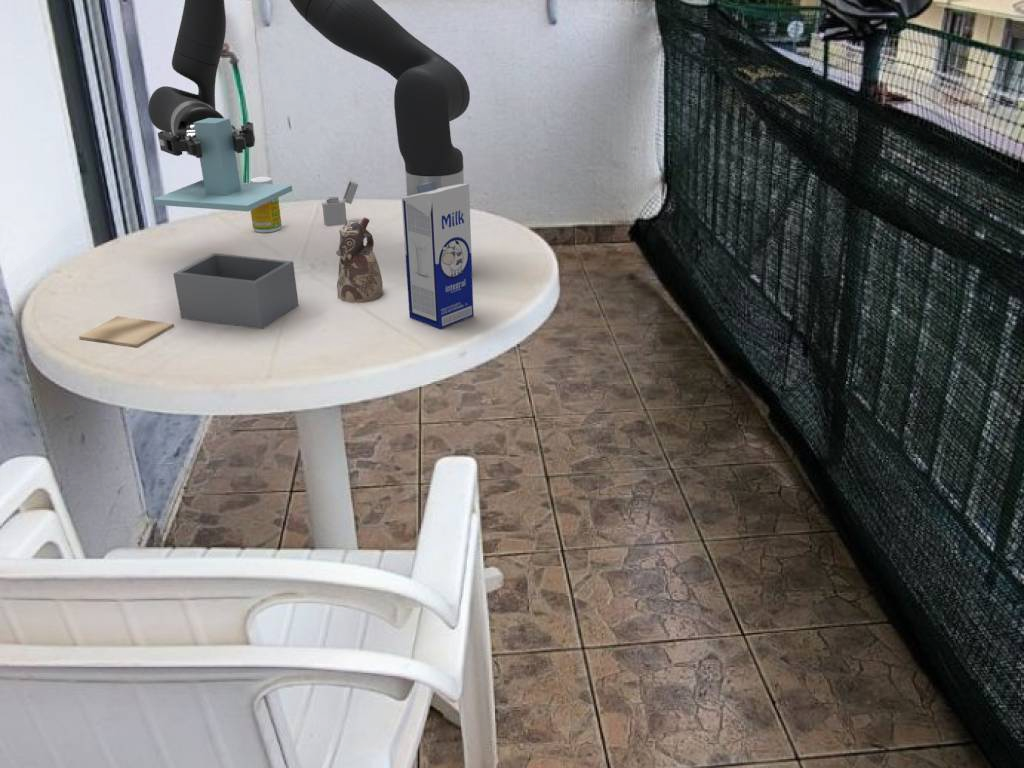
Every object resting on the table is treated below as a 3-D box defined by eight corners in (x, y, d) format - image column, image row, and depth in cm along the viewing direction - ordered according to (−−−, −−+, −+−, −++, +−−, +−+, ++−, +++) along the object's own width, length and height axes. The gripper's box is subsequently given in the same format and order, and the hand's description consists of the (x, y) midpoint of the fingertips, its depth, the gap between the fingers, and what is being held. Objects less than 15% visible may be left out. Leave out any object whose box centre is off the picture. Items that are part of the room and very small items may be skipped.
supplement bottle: (278, 233, 179) (271, 182, 175) (250, 233, 179) (242, 182, 175) (284, 225, 184) (278, 175, 179) (257, 225, 184) (250, 175, 180)
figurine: (329, 293, 149) (321, 219, 144) (368, 283, 153) (362, 211, 147) (351, 306, 144) (344, 229, 138) (391, 295, 148) (386, 221, 142)
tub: (298, 304, 144) (293, 261, 141) (262, 328, 136) (255, 283, 133) (220, 295, 149) (214, 253, 146) (181, 318, 140) (173, 273, 137)
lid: (292, 190, 137) (282, 114, 132) (248, 211, 127) (235, 130, 123) (203, 185, 142) (190, 111, 137) (154, 204, 132) (138, 126, 127)
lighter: (326, 226, 182) (322, 185, 179) (324, 224, 184) (319, 183, 180) (361, 221, 185) (358, 181, 182) (359, 219, 187) (355, 179, 183)
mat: (174, 326, 137) (173, 323, 137) (137, 347, 131) (137, 344, 130) (118, 318, 140) (117, 316, 140) (79, 338, 134) (79, 336, 133)
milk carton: (439, 329, 135) (432, 191, 126) (408, 318, 139) (399, 183, 130) (474, 315, 139) (470, 181, 131) (443, 305, 144) (437, 174, 135)
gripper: (144, 107, 139) (159, 125, 125) (242, 98, 144) (267, 114, 130) (154, 158, 142) (170, 181, 128) (250, 147, 147) (275, 168, 133)
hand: (219, 147), depth 129 cm, fingers closed on lid, 5 cm apart
